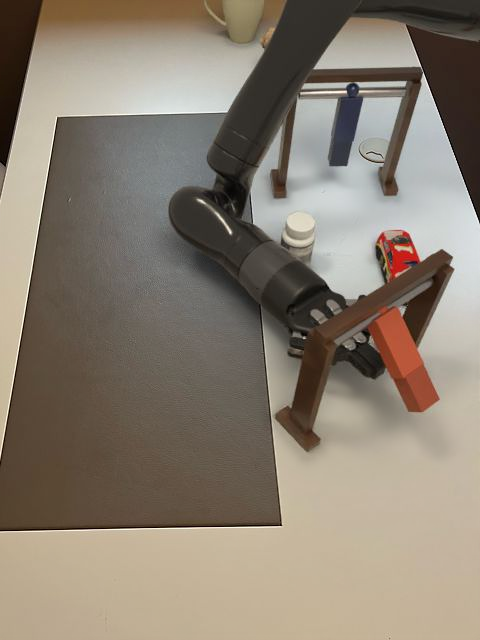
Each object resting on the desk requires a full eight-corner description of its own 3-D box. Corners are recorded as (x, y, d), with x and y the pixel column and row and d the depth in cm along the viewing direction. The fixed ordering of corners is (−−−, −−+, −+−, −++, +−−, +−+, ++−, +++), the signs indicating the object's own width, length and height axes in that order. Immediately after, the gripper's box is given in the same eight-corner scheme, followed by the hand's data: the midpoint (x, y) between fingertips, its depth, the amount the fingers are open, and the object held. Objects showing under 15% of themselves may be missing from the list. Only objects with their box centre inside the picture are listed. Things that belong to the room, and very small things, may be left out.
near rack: (274, 418, 78) (293, 317, 62) (388, 342, 84) (431, 234, 68) (307, 452, 75) (335, 356, 59) (422, 371, 81) (475, 265, 65)
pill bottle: (276, 253, 94) (282, 209, 87) (308, 254, 94) (316, 209, 87) (278, 276, 91) (284, 232, 84) (310, 277, 91) (319, 233, 84)
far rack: (270, 175, 104) (282, 61, 89) (389, 172, 104) (423, 58, 89) (273, 198, 101) (286, 84, 85) (396, 195, 101) (433, 81, 85)
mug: (238, 20, 134) (241, -43, 124) (272, 37, 130) (277, -27, 120) (201, 38, 130) (201, -25, 120) (234, 56, 126) (237, -8, 116)
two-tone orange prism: (368, 441, 67) (315, 334, 65) (463, 372, 72) (416, 270, 70) (381, 442, 65) (326, 332, 63) (478, 371, 70) (430, 266, 67)
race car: (428, 307, 88) (437, 288, 84) (389, 308, 88) (397, 289, 84) (407, 242, 95) (415, 221, 92) (372, 243, 95) (378, 222, 92)
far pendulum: (288, 159, 100) (299, 80, 89) (383, 156, 100) (405, 78, 89) (290, 167, 99) (300, 89, 88) (386, 165, 99) (408, 86, 88)
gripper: (242, 286, 74) (345, 382, 66) (324, 240, 79) (430, 325, 71) (239, 326, 80) (333, 419, 72) (315, 281, 85) (411, 364, 77)
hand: (381, 372), depth 72 cm, fingers closed
